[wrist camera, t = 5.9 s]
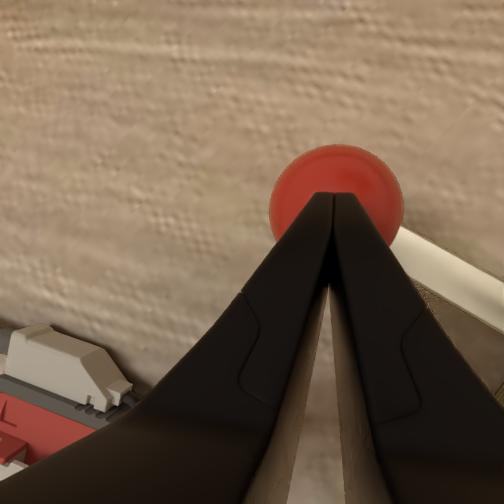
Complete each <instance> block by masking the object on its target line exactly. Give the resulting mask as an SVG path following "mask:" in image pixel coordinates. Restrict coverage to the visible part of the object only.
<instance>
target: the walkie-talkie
mask: <svg viewBox="0 0 504 504" xmlns="http://www.w3.org/2000/svg"><path fill="white" fill-rule="evenodd" d="M0 353H2V354H5V355H7V360H6V365H5V370H4V373H3V374H2V375H0V481H1V480H3V479H5V478H7V477H9V476H11V475H13V474H15V473H17V472H19V471H20V470H22V469H24V468H26V467H28V466H30V465H32V464H34V463H36V462H37V461H39V460H41V459H43V458H45V457H47V456H49V455H51V454H53V453H55V452H56V451H58V450H60V449H62V448H64V447H66V446H68V445H70V444H72V443H73V442H75V441H77V440H79V439H81V438H83V437H85V436H87V435H89V434H91V433H92V432H94V431H96V430H98V429H100V428H102V427H104V426H106V425H107V424H109V423H111V422H113V421H114V420H116V419H117V418H119V417H120V416H122V415H123V414H125V413H126V412H127V411H129V410H130V409H131V408H133V407H134V406H135V405H136V404H137V403H138V402H139V401H141V400H142V399H141V398H140V396H139V395H138V394H136V393H134V392H132V386H133V384H132V383H129V382H128V381H127V380H126V378H125V377H124V376H123V374H122V373H121V371H120V370H119V369H118V367H117V366H116V364H115V363H114V362H113V360H112V359H111V357H110V356H109V355H108V353H107V352H106V350H104V349H103V348H101V347H98V346H95V345H92V344H90V343H87V342H84V341H81V340H78V339H75V338H73V337H70V336H67V335H64V334H61V333H59V332H56V331H54V330H53V328H52V327H50V326H47V325H44V324H41V323H38V324H35V325H32V326H29V327H25V328H22V329H19V330H16V329H14V328H10V327H7V328H2V327H0Z"/></svg>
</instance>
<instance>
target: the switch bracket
mask: <svg viewBox="0 0 504 504" xmlns="http://www.w3.org/2000/svg"><path fill="white" fill-rule="evenodd" d="M495 397H496V398H497V399H498V401H499V402H500V403H501V404H502V405H503V406H504V384H503V385H502V387H501V388H500V389H499V391H498V392H497V393H496V395H495Z"/></svg>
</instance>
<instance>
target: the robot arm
mask: <svg viewBox="0 0 504 504" xmlns="http://www.w3.org/2000/svg"><path fill="white" fill-rule="evenodd" d="M328 287H329V299H330V312H331V324H332V337H333V350H334V363H335V375H336V388H337V401H338V413H339V426H340V439H341V452H342V464H343V477H344V490H345V492H346V493H345V503H346V504H504V407H503V406H502V404H501V403H500V402H499V401H498V399H497V398H496V397H495V396H494V395H493V393H492V392H491V391H490V390H489V389H488V387H487V386H486V385H485V384H484V382H483V381H482V380H481V379H480V378H479V376H478V375H477V374H476V373H475V371H474V370H473V369H472V368H471V366H470V365H469V364H468V362H467V361H466V360H465V359H464V357H463V356H462V355H461V354H460V352H459V351H458V350H457V348H456V347H455V345H454V344H453V343H452V341H451V340H450V338H449V337H448V335H447V334H446V333H445V331H444V330H443V328H442V327H441V325H440V324H439V322H438V321H437V319H436V318H435V316H434V315H433V313H432V311H431V310H430V309H429V308H427V304H426V303H425V301H424V299H423V298H422V296H421V295H420V293H419V292H418V290H417V289H416V287H415V286H414V284H413V283H412V281H411V280H410V278H409V276H408V275H407V273H406V272H405V270H404V269H403V267H402V266H401V264H400V263H399V261H398V260H397V258H396V256H395V255H394V253H393V252H392V250H391V249H390V247H389V246H388V244H387V243H386V241H385V240H384V238H383V237H382V235H381V233H380V232H379V230H378V229H377V227H376V226H375V224H374V223H373V221H372V220H371V218H370V217H369V215H368V213H367V212H366V210H365V209H364V207H363V206H362V204H361V203H360V201H359V200H358V198H357V197H356V195H355V194H354V193H352V192H336V193H335V194H334V193H333V192H315V193H314V194H313V196H312V197H311V198H310V200H309V201H308V202H307V204H306V205H305V206H304V207H303V209H302V210H301V211H300V213H299V214H298V215H297V217H296V218H295V219H294V221H293V222H292V223H291V225H290V226H289V227H288V229H287V230H286V231H285V233H284V234H283V235H282V237H281V238H280V239H279V240H278V242H277V243H276V244H275V246H274V247H273V248H272V250H271V251H270V252H269V254H268V255H267V256H266V258H265V259H264V260H263V262H262V263H261V264H260V266H259V267H258V268H257V270H256V271H255V272H254V274H253V275H252V276H251V277H250V279H249V280H248V281H247V283H246V284H245V285H244V287H243V288H242V289H241V292H240V293H238V294H237V296H236V297H235V298H234V300H233V301H232V302H231V304H230V305H229V306H228V308H227V309H226V310H225V311H224V312H223V314H222V315H221V316H220V317H219V319H218V320H217V321H216V322H215V324H214V325H213V326H212V327H211V328H210V329H209V330H208V331H207V332H206V333H205V335H204V336H203V337H202V338H201V339H200V340H199V341H198V342H197V343H196V344H195V345H194V346H193V347H192V348H191V349H190V350H189V352H188V353H187V354H186V355H185V356H184V357H183V358H182V359H181V360H180V361H179V362H178V363H177V364H176V365H175V366H174V367H173V368H172V369H171V370H170V371H169V372H168V373H167V374H166V375H165V376H164V377H163V378H162V379H161V380H160V381H159V382H158V384H157V385H156V386H155V387H154V388H153V389H152V390H151V391H150V392H149V393H148V394H147V395H146V396H145V397H144V398H143V399H142V400H141V401H139V402H138V403H137V404H136V405H135V406H134V407H133V408H131V409H130V410H129V411H127V412H126V413H125V414H123V415H122V416H120V417H119V418H117V419H116V420H114V421H113V422H111V423H109V424H107V425H106V426H104V427H102V428H100V429H98V430H96V431H94V432H92V433H91V434H89V435H87V436H85V437H83V438H81V439H79V440H77V441H75V442H73V443H72V444H70V445H68V446H66V447H64V448H62V449H60V450H58V451H56V452H55V453H53V454H51V455H49V456H47V457H45V458H43V459H41V460H39V461H37V462H36V463H34V464H32V465H30V466H28V467H26V468H24V469H22V470H20V471H19V472H17V473H15V474H13V475H11V476H9V477H7V478H5V479H3V480H1V481H0V504H286V503H287V498H288V493H289V488H290V481H291V477H292V472H293V467H294V462H295V457H296V452H297V447H298V442H299V437H300V432H301V427H302V421H303V416H304V411H305V406H306V401H307V396H308V391H309V386H310V381H311V376H312V370H313V365H314V360H315V355H316V350H317V345H318V340H319V335H320V330H321V325H322V320H323V314H324V309H325V304H326V299H327V294H328Z"/></svg>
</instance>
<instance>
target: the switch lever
mask: <svg viewBox="0 0 504 504" xmlns="http://www.w3.org/2000/svg"><path fill="white" fill-rule="evenodd" d="M315 192H333V193H334V194H335V193H336V192H352V193H354V194H355V195H356V197H357V198H358V200H359V201H360V203H361V204H362V206H363V207H364V209H365V210H366V212H367V213H368V215H369V217H370V218H371V220H372V221H373V223H374V224H375V226H376V227H377V229H378V230H379V232H380V233H381V235H382V237H383V238H384V240H385V241H386V243H387V244H388V246H389V247H390V249H391V250H392V252H393V253H394V255H395V256H396V258H397V260H398V261H399V263H400V264H401V266H402V267H403V269H404V270H405V272H406V273H407V275H408V276H409V278H410V280H411V281H413V282H414V283H416V284H418V285H419V286H421V287H423V288H424V289H426V290H428V291H430V292H431V293H433V294H435V295H436V296H438V297H440V298H441V299H443V300H445V301H447V302H448V303H450V304H452V305H453V306H455V307H457V308H458V309H460V310H462V311H464V312H465V313H467V314H469V315H470V316H472V317H474V318H475V319H477V320H479V321H481V322H482V323H484V324H486V325H487V326H489V327H491V328H492V329H494V330H496V331H498V332H499V333H501V334H503V335H504V280H502V279H500V278H499V277H497V276H495V275H493V274H491V273H489V272H488V271H486V270H484V269H482V268H480V267H479V266H477V265H475V264H473V263H471V262H470V261H468V260H466V259H464V258H462V257H460V256H459V255H457V254H455V253H453V252H451V251H450V250H448V249H446V248H444V247H442V246H441V245H439V244H437V243H435V242H433V241H431V240H430V239H428V238H426V237H424V236H422V235H421V234H419V233H417V232H415V231H413V230H412V229H410V228H408V227H406V226H404V225H403V224H402V222H403V216H404V201H403V195H402V191H401V188H400V185H399V183H398V181H397V179H396V177H395V175H394V174H393V173H392V171H391V170H390V168H389V167H388V166H387V165H386V164H385V163H384V162H383V161H382V160H380V159H379V158H378V157H377V156H375V155H373V154H372V153H370V152H368V151H366V150H364V149H361V148H358V147H355V146H350V145H343V144H334V145H326V146H322V147H318V148H315V149H312V150H310V151H308V152H306V153H304V154H302V155H301V156H299V157H298V158H296V159H295V160H294V161H293V162H292V163H290V164H289V165H288V166H287V167H286V169H285V170H284V171H283V172H282V174H281V175H280V177H279V178H278V180H277V182H276V184H275V186H274V189H273V191H272V194H271V199H270V205H269V220H270V226H271V229H272V233H273V236H274V238H275V240H276V242H278V240H279V239H280V238H281V237H282V235H283V234H284V233H285V231H286V230H287V229H288V227H289V226H290V225H291V223H292V222H293V221H294V219H295V218H296V217H297V215H298V214H299V213H300V211H301V210H302V209H303V207H304V206H305V205H306V204H307V202H308V201H309V200H310V198H311V197H312V196H313V194H314V193H315Z"/></svg>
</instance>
